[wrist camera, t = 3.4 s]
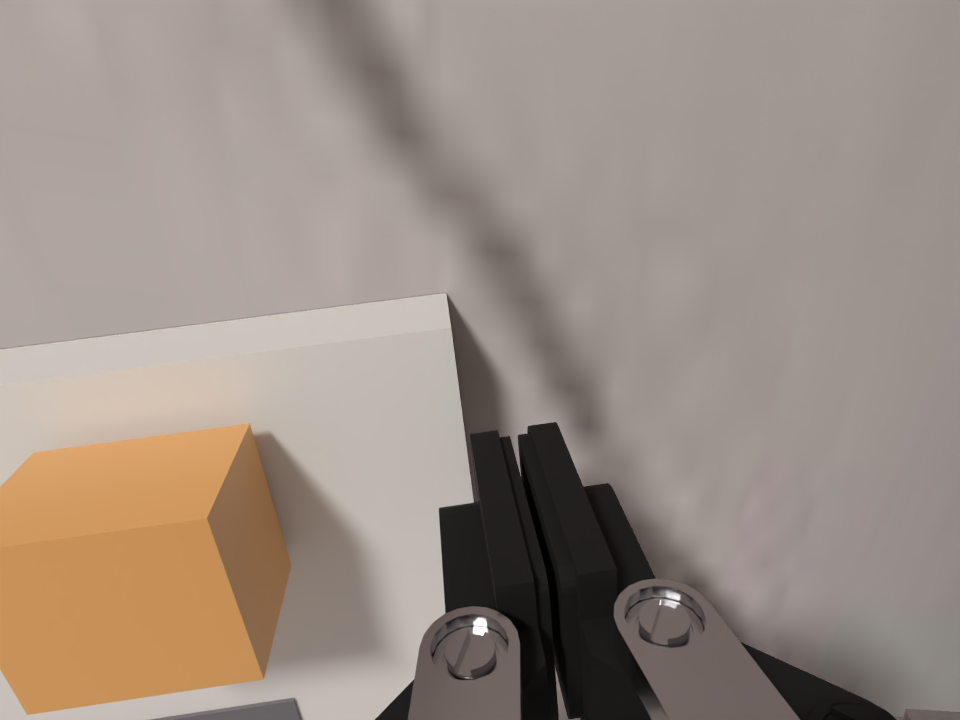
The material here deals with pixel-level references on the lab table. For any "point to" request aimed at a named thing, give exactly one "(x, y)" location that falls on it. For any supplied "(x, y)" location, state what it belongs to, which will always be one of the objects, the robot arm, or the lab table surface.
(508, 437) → the robot arm
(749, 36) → the lab table surface
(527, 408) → the lab table surface
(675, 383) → the lab table surface
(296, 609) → the switch panel
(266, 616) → the switch tab
